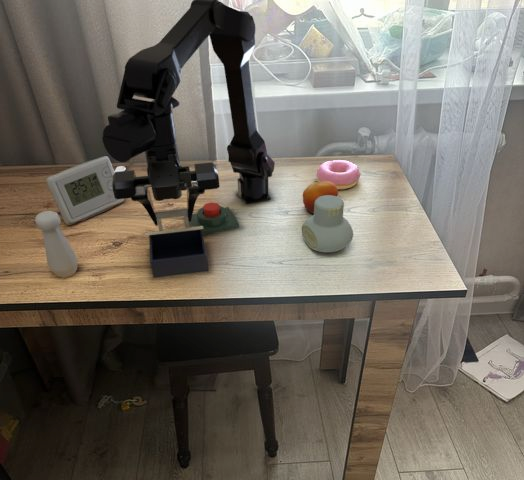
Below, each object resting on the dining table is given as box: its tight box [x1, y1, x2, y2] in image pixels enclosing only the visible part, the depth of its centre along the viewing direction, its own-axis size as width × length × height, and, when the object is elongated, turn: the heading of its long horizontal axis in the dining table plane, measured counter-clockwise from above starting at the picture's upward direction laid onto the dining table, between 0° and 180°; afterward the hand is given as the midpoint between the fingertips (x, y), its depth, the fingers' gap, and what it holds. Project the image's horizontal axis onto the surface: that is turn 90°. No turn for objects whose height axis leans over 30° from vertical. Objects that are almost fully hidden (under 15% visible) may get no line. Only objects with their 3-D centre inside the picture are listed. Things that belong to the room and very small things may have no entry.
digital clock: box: [45, 155, 125, 226], centre depth 117 cm, size 16×9×11 cm, turn 124°
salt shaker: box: [34, 210, 79, 279], centre depth 98 cm, size 6×6×13 cm
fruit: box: [302, 181, 339, 214], centre depth 116 cm, size 8×8×8 cm
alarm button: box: [202, 202, 220, 217], centre depth 112 cm, size 4×4×2 cm
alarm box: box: [187, 205, 240, 236], centre depth 114 cm, size 10×8×3 cm
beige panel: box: [144, 207, 203, 237], centre depth 100 cm, size 10×11×4 cm
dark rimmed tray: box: [148, 229, 210, 279], centre depth 103 cm, size 10×11×4 cm
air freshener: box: [301, 195, 354, 253], centre depth 104 cm, size 11×8×10 cm
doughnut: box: [315, 159, 362, 190], centre depth 126 cm, size 11×11×4 cm
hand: (173, 222), depth 97 cm, fingers closed on beige panel, 6 cm apart
